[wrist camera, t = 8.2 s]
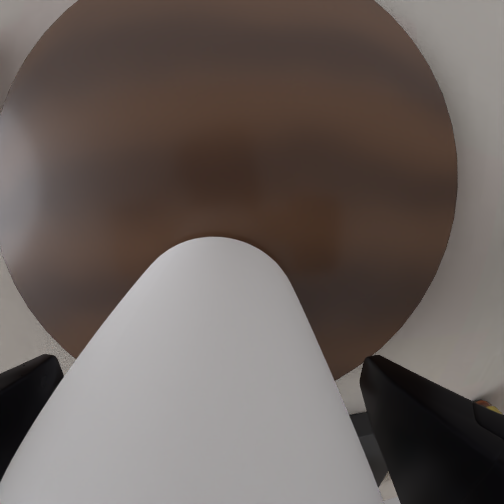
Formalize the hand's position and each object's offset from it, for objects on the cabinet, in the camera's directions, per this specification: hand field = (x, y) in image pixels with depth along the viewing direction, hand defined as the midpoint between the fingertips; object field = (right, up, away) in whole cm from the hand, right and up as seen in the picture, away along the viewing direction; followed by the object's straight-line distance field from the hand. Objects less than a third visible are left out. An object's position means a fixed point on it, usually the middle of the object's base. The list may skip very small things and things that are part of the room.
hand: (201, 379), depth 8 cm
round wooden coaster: (0, +7, +6) cm, 9 cm away
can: (0, +1, +5) cm, 5 cm away
